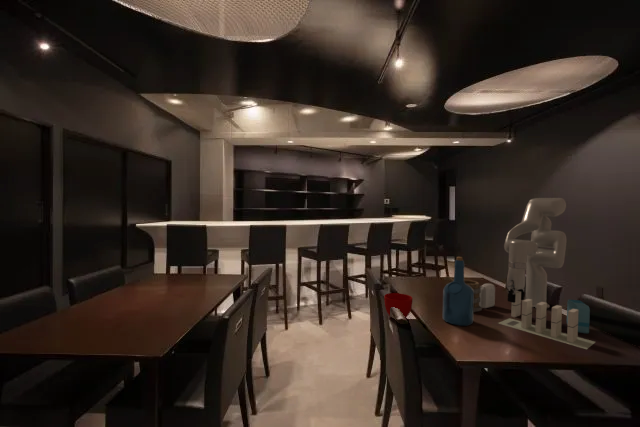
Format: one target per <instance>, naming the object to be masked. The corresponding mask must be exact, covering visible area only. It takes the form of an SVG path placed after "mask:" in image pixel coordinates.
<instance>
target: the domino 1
mask: <svg viewBox="0 0 640 427" xmlns="http://www.w3.org/2000/svg"><path fill="white" fill-rule="evenodd" d="M515 294H516V297H515V303H513V302H511V311H510V313H511V314H510V317H513V318H517V317H519V316H521V314H522V300H521V292H520V291H518V290H516V292H515Z"/></svg>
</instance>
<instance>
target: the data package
mask: <svg viewBox="0 0 640 427" xmlns="http://www.w3.org/2000/svg"><path fill="white" fill-rule="evenodd" d="M566 306H567V307H566V324H567V326H568V311H569V310H571V309H577V310H579V311H578V334H579V333H581V334H586V335H587V334H589V333H590V315H591V314H590V313H591V310H590V307H589V305H587V304H586V303H585V302H583V301H582V300H578V299H570V298H569V299H567V304H566Z"/></svg>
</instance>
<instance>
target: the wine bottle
mask: <svg viewBox="0 0 640 427" xmlns="http://www.w3.org/2000/svg"><path fill="white" fill-rule="evenodd" d="M453 267H454V271H453V280H454V281H453V282H450V281H449V282H450V283H449V282H448V283H446V285H444V287H443V290H442V315H441V316H442V320H443V321H445V322H446V323H448V324H451V325H455V326H461V327H463V326H465V327H467V326H471V325H473V322H474V313H475V312H474V290H473V288H472V287H471V286H469V285H467V284H466V283H465V282H464V280H465V260H464V259H463V256H456V259H454V265H453Z"/></svg>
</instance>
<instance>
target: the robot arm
mask: <svg viewBox="0 0 640 427" xmlns="http://www.w3.org/2000/svg"><path fill="white" fill-rule="evenodd" d="M566 209H567V203H566V200H565V199H564V198H562V197H535V198H531V199H529V201H528V203H527V204H526V207H525V210H524V212H523V216H522V219H521V222H520V223H518V224H516V225H515V226H514V227H512V228H511V229H510V230H509V231H508V232H507V234H506V237H505V241H504V244H503V248H504V251H505V252H506V253H507V254H508V265H507V266H508V270H507V271H508V272H507V277H506V278H507V279H506V288H507V290H506V291H507V302H510V303H512V302H513V303H515V297H516V294H515V292H516V291H520V292H521V301H523V300H526V299H531V300H532V308H534V307H535V309H536V304H538V303H540V302H545V303H547V290H548V288H547V287H548V286H547V285H548V274H547V272H546V270H545V269H544V267H545V268H553V269H560V268H562V267H563V266H564V263H565V259H566V258H565V257H566V250H567V236H566V233H565V232H564V231H561V230H552V225H553V224H552V221H551V219H550V218H549V217H559V216H560V215H562V214H563V213H564V212H565V210H566ZM529 233H531V235H530V240H529V239H518V237H519V236H521V235H524V234H529ZM539 247H540V248H539ZM548 248H549V249H548ZM550 248H551V249H550ZM550 307H551V306H550V304H548V303H547V309H550Z"/></svg>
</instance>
